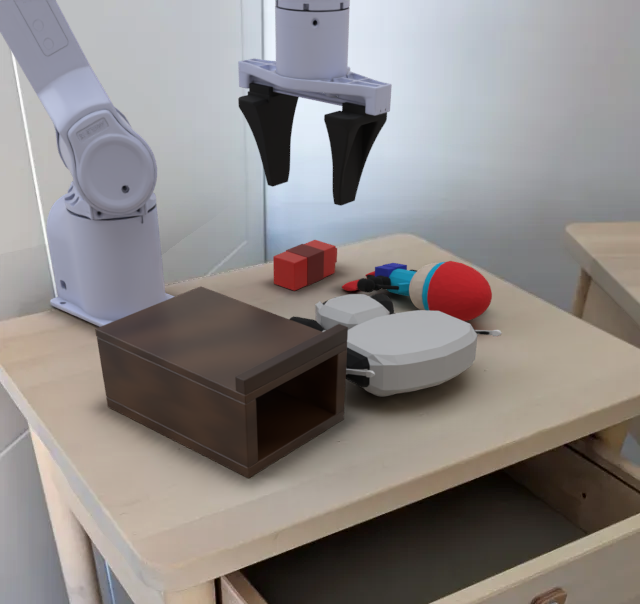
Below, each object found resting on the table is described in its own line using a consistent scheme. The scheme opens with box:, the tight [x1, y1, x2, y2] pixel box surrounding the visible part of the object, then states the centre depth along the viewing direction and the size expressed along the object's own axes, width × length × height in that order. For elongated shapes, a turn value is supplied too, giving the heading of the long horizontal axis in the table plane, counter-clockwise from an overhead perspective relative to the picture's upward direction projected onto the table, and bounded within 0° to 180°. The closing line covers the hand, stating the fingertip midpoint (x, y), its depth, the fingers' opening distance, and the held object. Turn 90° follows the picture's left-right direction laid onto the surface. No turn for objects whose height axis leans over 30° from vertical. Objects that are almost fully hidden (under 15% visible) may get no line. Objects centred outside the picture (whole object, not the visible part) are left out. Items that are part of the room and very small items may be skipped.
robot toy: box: [288, 293, 503, 397], centre depth 66 cm, size 12×4×15 cm
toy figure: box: [341, 260, 493, 322], centre depth 75 cm, size 8×5×15 cm
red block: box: [273, 239, 338, 292], centre depth 80 cm, size 3×7×3 cm, turn 140°
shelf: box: [94, 285, 348, 479], centre depth 59 cm, size 14×10×7 cm
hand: (310, 192), depth 74 cm, fingers open, 7 cm apart
